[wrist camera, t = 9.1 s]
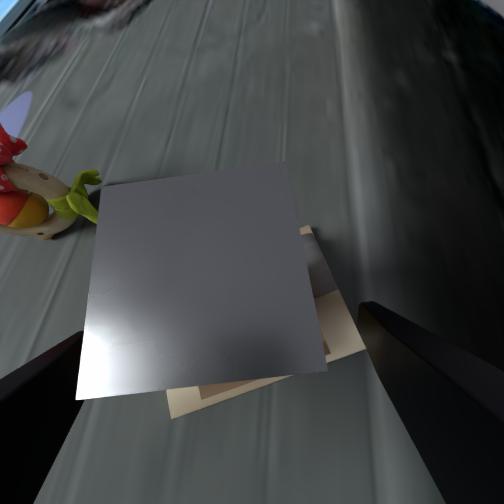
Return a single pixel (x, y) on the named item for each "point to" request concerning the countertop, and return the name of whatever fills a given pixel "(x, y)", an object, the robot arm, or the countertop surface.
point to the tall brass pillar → (198, 285)
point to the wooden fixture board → (330, 323)
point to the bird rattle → (39, 195)
